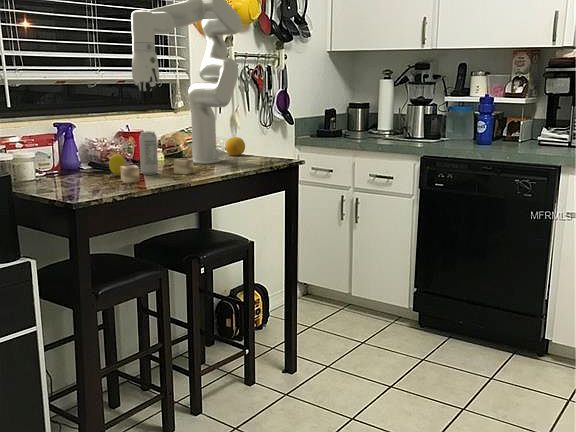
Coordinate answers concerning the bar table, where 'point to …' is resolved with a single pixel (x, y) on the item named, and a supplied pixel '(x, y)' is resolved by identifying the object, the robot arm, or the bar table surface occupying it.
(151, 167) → the energy drink can
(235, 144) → the fruit
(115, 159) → the lemon
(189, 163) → the maple block
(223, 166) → the bar table surface
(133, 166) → the maple block
